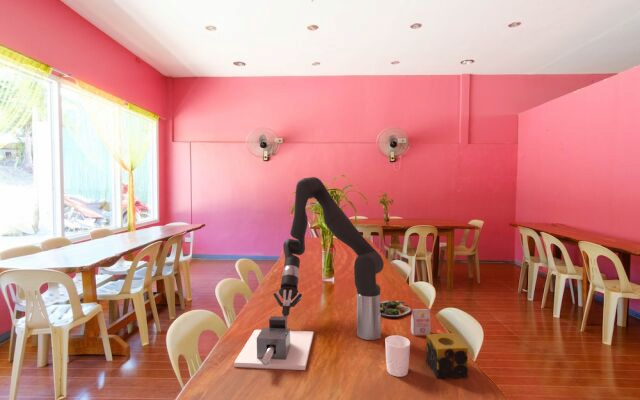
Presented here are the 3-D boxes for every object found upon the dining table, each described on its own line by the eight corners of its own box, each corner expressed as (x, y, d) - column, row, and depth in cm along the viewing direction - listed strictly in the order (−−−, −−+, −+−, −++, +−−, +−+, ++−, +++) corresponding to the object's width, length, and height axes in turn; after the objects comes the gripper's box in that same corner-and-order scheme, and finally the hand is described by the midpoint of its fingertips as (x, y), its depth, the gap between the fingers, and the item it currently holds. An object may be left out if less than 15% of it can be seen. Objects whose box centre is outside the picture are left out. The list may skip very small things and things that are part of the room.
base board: (313, 335, 131) (313, 331, 131) (305, 370, 107) (305, 365, 107) (255, 333, 133) (255, 329, 133) (234, 366, 109) (234, 362, 109)
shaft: (287, 340, 123) (286, 316, 123) (274, 371, 103) (274, 343, 103) (271, 339, 124) (271, 316, 123) (256, 370, 104) (255, 342, 103)
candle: (454, 360, 112) (455, 332, 111) (469, 378, 102) (469, 347, 101) (425, 361, 112) (425, 333, 111) (436, 379, 101) (437, 348, 101)
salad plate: (392, 300, 169) (392, 291, 168) (420, 312, 154) (420, 302, 153) (363, 308, 158) (363, 299, 158) (390, 322, 143) (390, 311, 143)
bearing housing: (290, 347, 119) (289, 328, 118) (285, 359, 111) (285, 339, 110) (263, 346, 119) (262, 327, 119) (257, 358, 112) (256, 338, 111)
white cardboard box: (410, 331, 134) (411, 307, 133) (427, 331, 134) (427, 307, 133) (413, 335, 130) (413, 311, 129) (430, 335, 130) (430, 311, 129)
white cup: (392, 380, 101) (392, 348, 101) (380, 366, 109) (381, 337, 108) (414, 375, 103) (414, 345, 103) (401, 362, 111) (402, 333, 110)
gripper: (274, 273, 144) (267, 311, 133) (303, 274, 143) (300, 312, 131) (277, 281, 150) (271, 319, 138) (305, 282, 148) (302, 320, 137)
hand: (285, 315), depth 135 cm, fingers closed
